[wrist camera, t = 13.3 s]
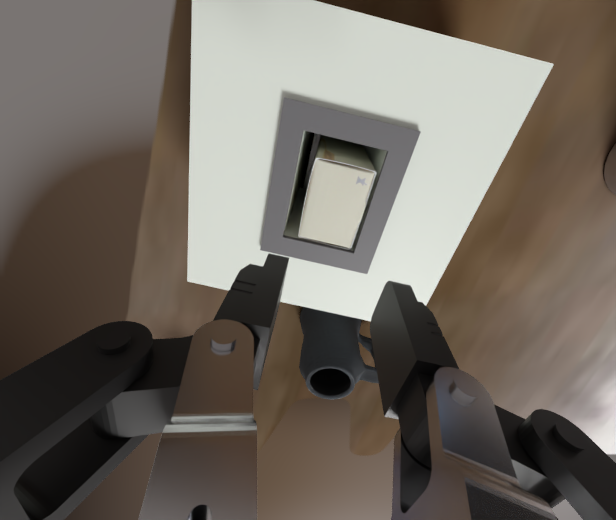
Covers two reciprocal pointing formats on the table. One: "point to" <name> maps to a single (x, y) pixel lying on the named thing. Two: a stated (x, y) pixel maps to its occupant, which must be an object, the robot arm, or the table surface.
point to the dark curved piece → (333, 354)
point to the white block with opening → (346, 126)
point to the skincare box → (336, 193)
